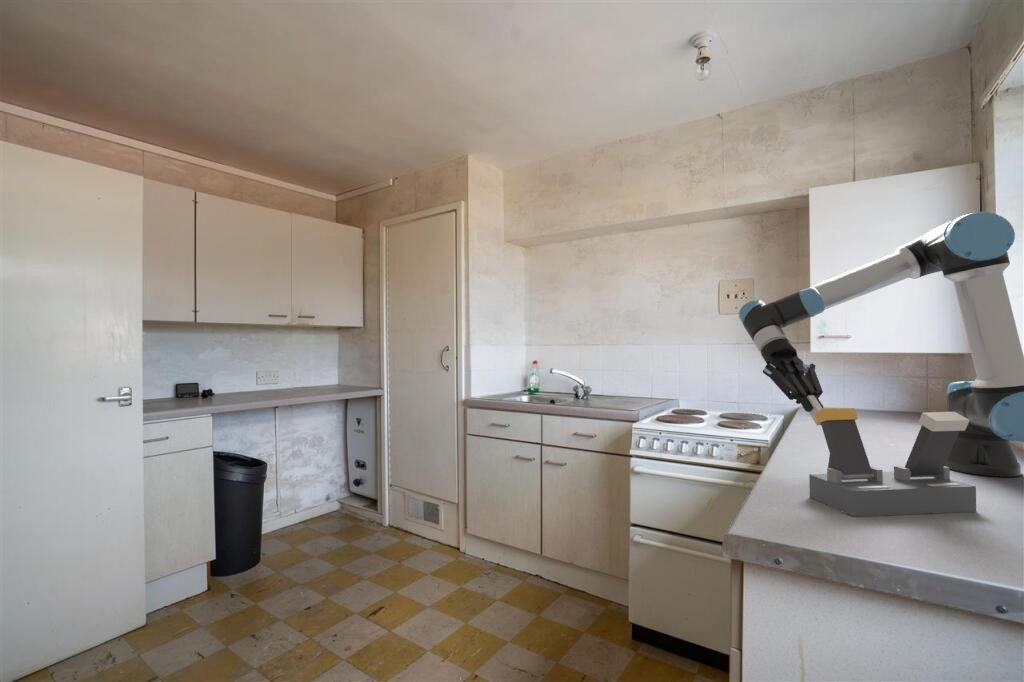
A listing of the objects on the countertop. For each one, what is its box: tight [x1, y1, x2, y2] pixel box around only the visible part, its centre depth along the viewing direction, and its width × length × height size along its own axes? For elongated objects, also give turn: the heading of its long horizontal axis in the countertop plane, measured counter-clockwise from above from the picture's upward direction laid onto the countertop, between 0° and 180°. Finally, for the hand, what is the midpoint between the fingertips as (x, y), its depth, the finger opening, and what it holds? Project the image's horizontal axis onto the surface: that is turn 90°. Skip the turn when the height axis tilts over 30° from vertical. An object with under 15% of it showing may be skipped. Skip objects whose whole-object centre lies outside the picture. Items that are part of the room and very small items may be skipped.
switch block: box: [808, 465, 977, 517], centre depth 99 cm, size 26×12×8 cm, turn 95°
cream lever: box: [904, 411, 970, 478], centre depth 97 cm, size 3×7×15 cm, turn 95°
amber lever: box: [814, 407, 874, 480], centre depth 101 cm, size 3×7×15 cm, turn 95°
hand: (822, 421), depth 107 cm, fingers closed
